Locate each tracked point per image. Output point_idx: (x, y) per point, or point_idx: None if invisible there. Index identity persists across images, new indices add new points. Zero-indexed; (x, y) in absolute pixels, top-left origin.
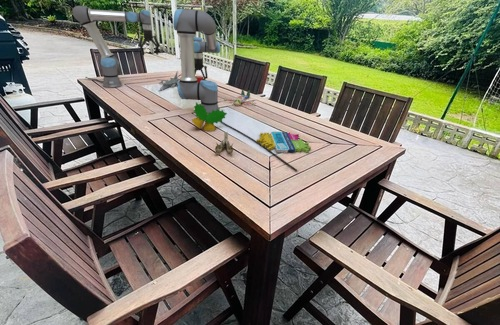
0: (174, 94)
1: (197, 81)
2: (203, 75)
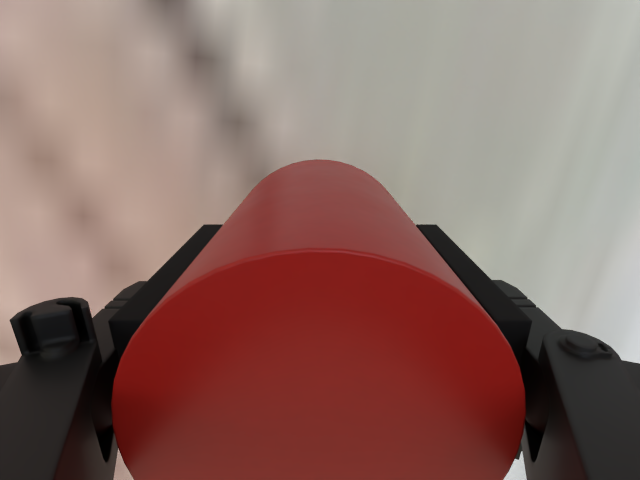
0: (620, 316)
1: (395, 215)
2: (20, 468)
